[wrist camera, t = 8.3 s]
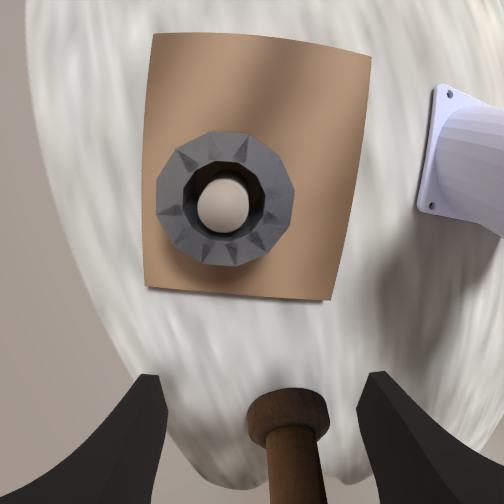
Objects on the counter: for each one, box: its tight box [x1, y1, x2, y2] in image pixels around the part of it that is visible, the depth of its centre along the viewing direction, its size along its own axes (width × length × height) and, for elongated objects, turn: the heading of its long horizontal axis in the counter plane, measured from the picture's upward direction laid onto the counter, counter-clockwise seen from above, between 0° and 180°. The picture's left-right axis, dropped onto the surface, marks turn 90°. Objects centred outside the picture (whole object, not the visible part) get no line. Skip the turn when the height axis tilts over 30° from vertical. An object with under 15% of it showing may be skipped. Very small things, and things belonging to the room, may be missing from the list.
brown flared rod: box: [248, 388, 330, 504], centre depth 16 cm, size 7×6×18 cm
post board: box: [142, 33, 372, 301], centre depth 14 cm, size 11×14×5 cm
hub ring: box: [156, 130, 295, 267], centre depth 14 cm, size 5×5×4 cm
